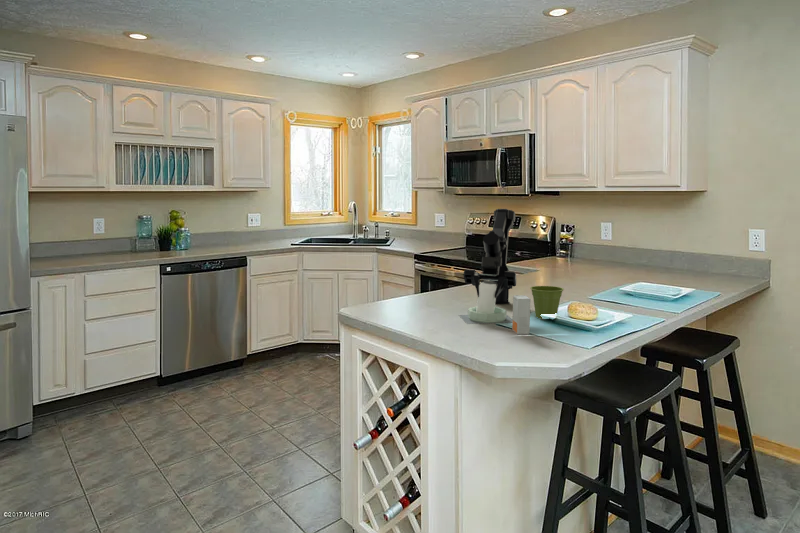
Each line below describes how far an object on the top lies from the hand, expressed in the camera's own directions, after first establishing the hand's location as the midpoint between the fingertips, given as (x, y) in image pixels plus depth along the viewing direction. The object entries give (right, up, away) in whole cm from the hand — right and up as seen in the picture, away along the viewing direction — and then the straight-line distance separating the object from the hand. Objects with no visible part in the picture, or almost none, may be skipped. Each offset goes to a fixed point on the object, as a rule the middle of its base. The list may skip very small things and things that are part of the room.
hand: (486, 296), depth 197 cm
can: (0, -7, +4) cm, 8 cm away
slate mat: (0, -9, +3) cm, 9 cm away
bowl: (0, -8, +2) cm, 9 cm away
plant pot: (+22, -8, +5) cm, 24 cm away
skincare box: (+9, -11, -15) cm, 21 cm away
